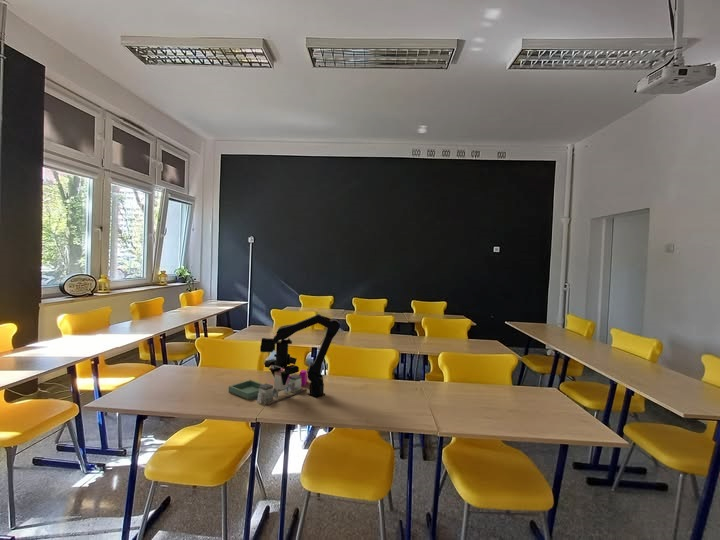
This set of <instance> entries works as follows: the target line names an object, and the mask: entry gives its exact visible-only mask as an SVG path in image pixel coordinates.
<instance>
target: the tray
mask: <svg viewBox="0 0 720 540" xmlns="http://www.w3.org/2000/svg"><path fill="white" fill-rule="evenodd" d="M263 384H264V383H261V382H258V381H255V380H252V379H248V380H245V381H242V382H241V381H240V382H238V383H236V384H230V385H229V386H228V393H229V394H232V395H235V396H237V397H240V398H242V399H244V400H247V401H249V400H252V398H255V397H258V393H259V386H260V385H263Z"/></svg>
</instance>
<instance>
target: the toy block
mask: <svg viewBox="0 0 720 540" xmlns="http://www.w3.org/2000/svg"><path fill="white" fill-rule="evenodd" d="M281 370H284V369H282V368H281ZM298 375H299V376H301V381H302V382H301V387H302V386H304V387H305V385H306V384H307V382H308V374H307V369H305V370H304V369H301V370H300V372H299V374H298ZM289 376H291V374H290V375H289ZM288 382H289V377H288V381H287V385H288Z"/></svg>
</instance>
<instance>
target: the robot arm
mask: <svg viewBox="0 0 720 540" xmlns="http://www.w3.org/2000/svg"><path fill="white" fill-rule="evenodd" d="M317 324H319V325H320V326H323V327H325V328H326V331H325V336H324V338H323V340H322V343H321V345H320V348H319V349H318V353H317V354H316V357H315V358H314V359H315V360H314V361H313V362H311V361H310V362H309V366H308V367H307V369H306V370H307V372H306V374H307V380H309V381H310V384H309V393H307V395H308V396H309V397H312V398H316V399H319V398H321V397H324V396H325V395H326V393H324V387H325V385H324V376H323V375H322V374H321V370H322V365H323V363H324V360H325V358H326V356H327V353H328V351H329V349H330V345H331V343H332V341H333V340H334V339H333V338H334V337H335V336H336V335H337V334H338V332H339V330H340V328H341V325H340V322H339V320H338V319H336V318H329V317H327V316H323V315H321V314H319V313H317V314H315V315H313V316H311V317H308V318H306V319H303V320H301V321H298V322H295V323H293V324H284V325H281V326H279V327H278V329H277V331H276V334H275V335H274V336H273V338H269V337H267V338H266V337H262V338H261V342H260V353H273V352H274V351H275V350H276V352H275V354H273V357H275V359H274V358H272V359H269V360H266V361H265V362H264V367H265V368H268V369H269V371H270V372H271V374H272V376H273V377H274V376H275V374H274V373H275V372H276V371H279V370H281V369H283V370H284V372H281V376H282V382H283V385H285V384H286V382H287V379H288V377H289V375H290V376H291V375H294V374H297V373H300V372H299V371H300V368H299V366H298V365H296V362H297V357H292V356H291V354H290V353H289V345H292V343H293V340H291V338H289V337H291V336H292V335H294V334H295V333H297V332H300V331H302V330H304V329H307V328H310V327H312V326H314V325H317Z"/></svg>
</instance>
